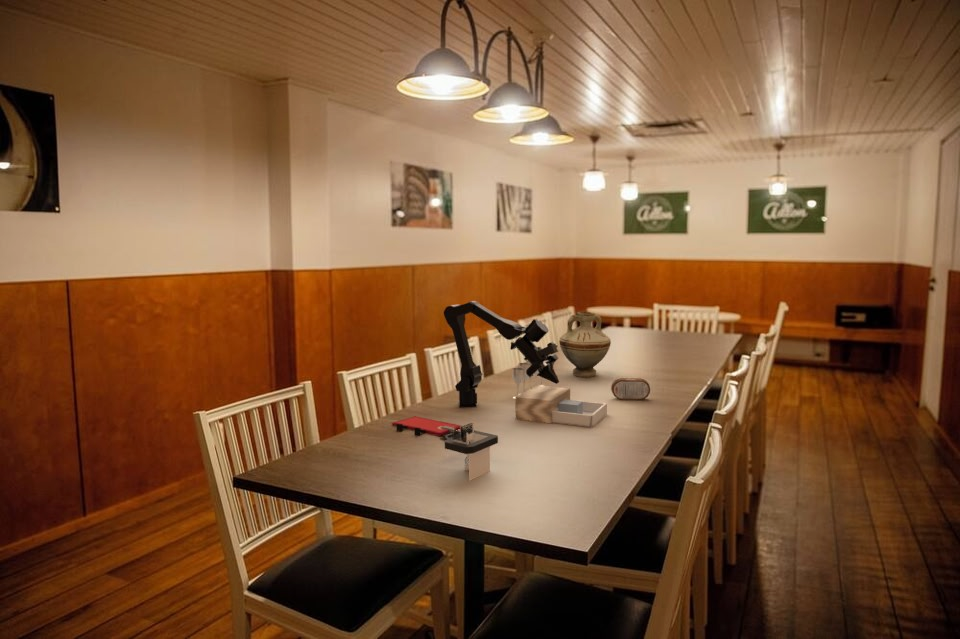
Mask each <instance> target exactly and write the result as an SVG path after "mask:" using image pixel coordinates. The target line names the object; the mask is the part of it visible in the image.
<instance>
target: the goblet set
mask: <svg viewBox="0 0 960 639" xmlns="http://www.w3.org/2000/svg"><path fill="white" fill-rule="evenodd" d="M530 366H531V363H530V362H529V361H528V360H526V361H525V362H519V363H517V367H514V368H512V370H511V377H512V380H513V382H514V383H515V385H516V390H517V391H516V392H517V395H516V396H518V395H520V394H522V393H524V392H525V391H526V390H525V389H526V388H525V385H526V380H527V379H528V380H529V385H531V382H532V377H530V378H529V376H528V375H527V374H526V370H527V369H528V368H529V367H530ZM538 373H539V372H538V370H537V371H536V372H535V373H534V374H533V375H534V378H535V380H534V382H535V384H534V385H535V386H537V377H538V376H537V374H538ZM542 379H543V378H542V377H540V384H538V386H546V385H545V384H543V380H542ZM521 382H522V383H523V385H522V386H523V392H522V393H519V387H520V385H521V384H520V383H521ZM535 386H534V387H535ZM516 396H513V397H512V399H514V400H515V397H516Z"/></svg>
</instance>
